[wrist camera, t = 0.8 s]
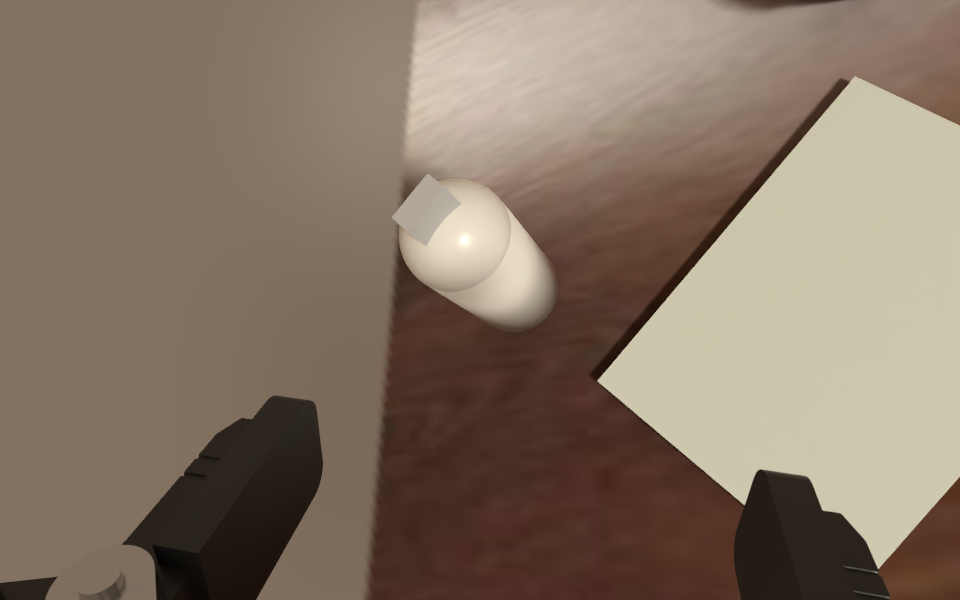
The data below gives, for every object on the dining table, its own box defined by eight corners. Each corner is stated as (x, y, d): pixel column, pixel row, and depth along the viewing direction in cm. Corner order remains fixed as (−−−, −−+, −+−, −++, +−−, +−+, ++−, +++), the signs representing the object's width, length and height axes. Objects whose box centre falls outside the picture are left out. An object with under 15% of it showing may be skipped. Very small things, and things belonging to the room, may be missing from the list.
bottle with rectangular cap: (512, 231, 36) (416, 120, 25) (577, 280, 34) (506, 185, 23) (458, 296, 37) (337, 217, 25) (519, 350, 34) (418, 291, 23)
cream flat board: (852, 83, 32) (855, 76, 31) (1168, 233, 26) (1178, 229, 25) (599, 382, 32) (597, 380, 32) (850, 594, 27) (853, 597, 26)
